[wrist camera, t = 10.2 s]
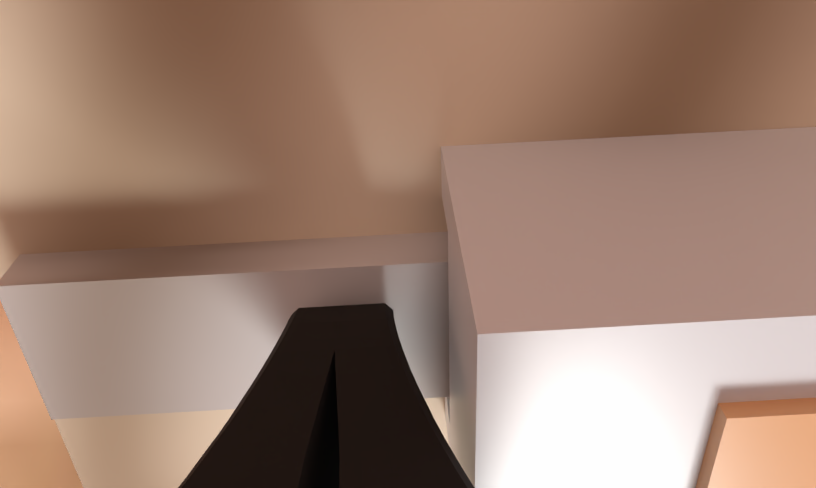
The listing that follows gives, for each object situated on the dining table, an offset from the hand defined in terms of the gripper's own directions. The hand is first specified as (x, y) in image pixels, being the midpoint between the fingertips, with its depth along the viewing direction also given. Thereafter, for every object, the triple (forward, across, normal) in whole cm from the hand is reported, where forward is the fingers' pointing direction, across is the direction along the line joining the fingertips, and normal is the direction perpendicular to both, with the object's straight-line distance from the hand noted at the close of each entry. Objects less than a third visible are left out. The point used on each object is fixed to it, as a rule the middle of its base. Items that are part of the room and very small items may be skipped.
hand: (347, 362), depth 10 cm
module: (+1, -5, 0) cm, 5 cm away
